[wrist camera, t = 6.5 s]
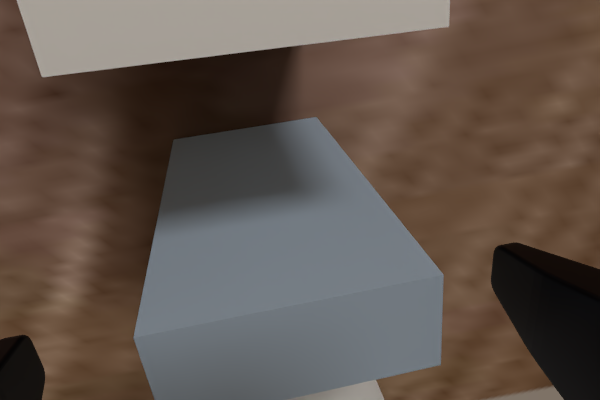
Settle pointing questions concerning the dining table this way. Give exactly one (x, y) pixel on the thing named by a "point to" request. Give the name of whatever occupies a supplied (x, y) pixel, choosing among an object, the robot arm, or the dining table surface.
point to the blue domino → (280, 273)
